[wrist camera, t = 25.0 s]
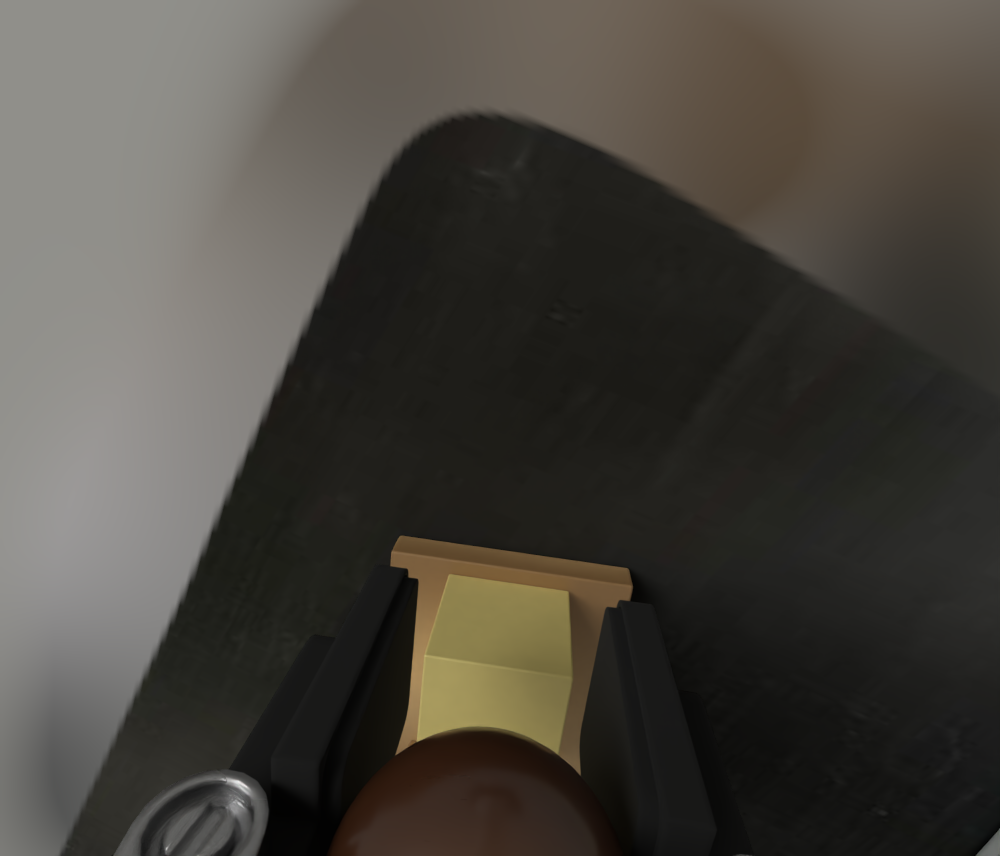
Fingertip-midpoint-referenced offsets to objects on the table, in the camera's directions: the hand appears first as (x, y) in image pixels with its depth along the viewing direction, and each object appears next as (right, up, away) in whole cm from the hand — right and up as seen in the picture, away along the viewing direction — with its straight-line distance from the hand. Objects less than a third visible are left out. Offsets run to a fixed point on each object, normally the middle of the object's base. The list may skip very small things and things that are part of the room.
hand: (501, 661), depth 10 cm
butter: (0, -3, +7) cm, 8 cm away
